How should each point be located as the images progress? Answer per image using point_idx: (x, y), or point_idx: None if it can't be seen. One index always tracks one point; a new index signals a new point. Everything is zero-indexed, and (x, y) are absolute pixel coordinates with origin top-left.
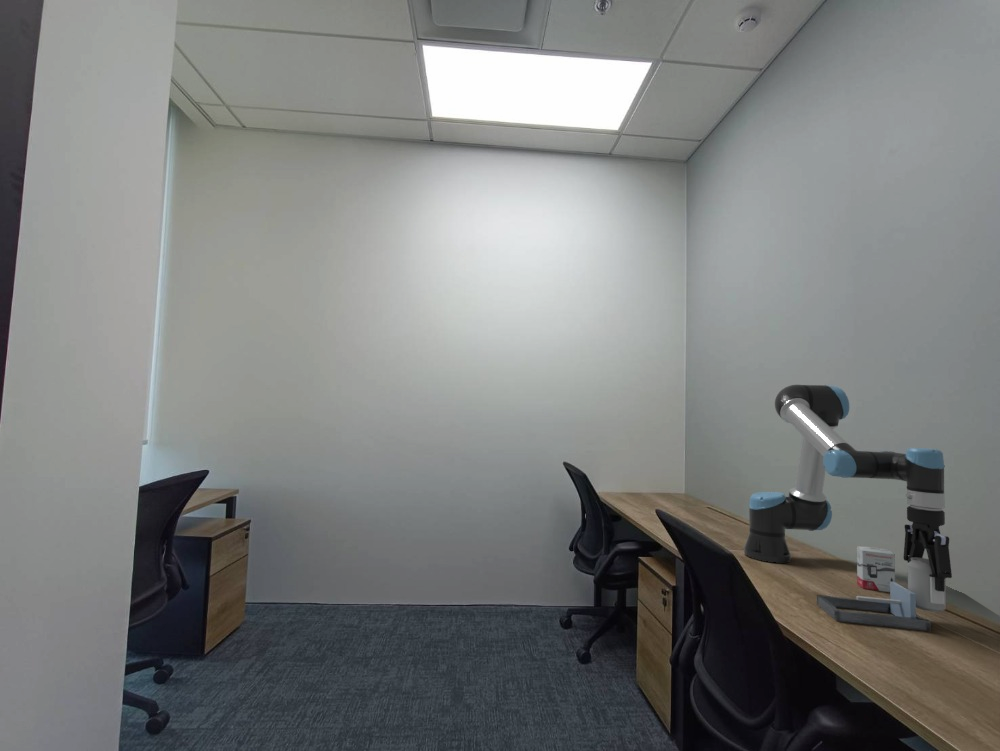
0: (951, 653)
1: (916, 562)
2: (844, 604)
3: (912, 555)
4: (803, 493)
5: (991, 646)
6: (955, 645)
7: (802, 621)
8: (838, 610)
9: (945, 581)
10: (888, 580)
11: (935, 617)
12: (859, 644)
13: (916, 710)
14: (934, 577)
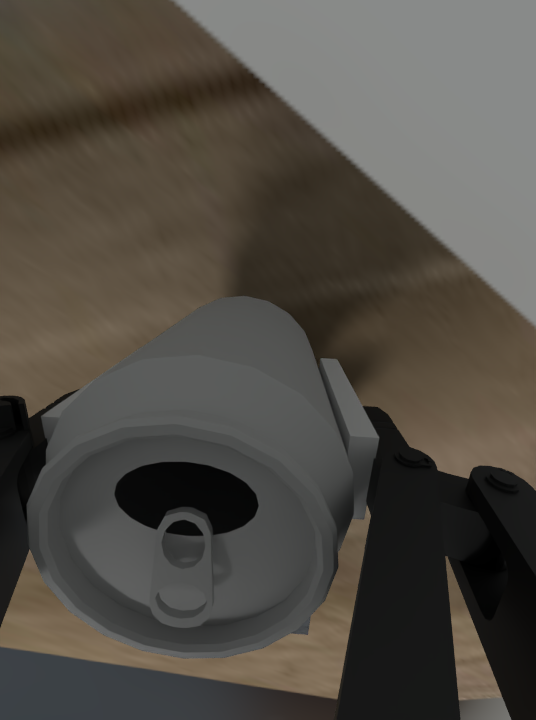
0: (503, 435)
1: (233, 637)
2: None
3: (5, 603)
4: None
5: (445, 245)
6: (444, 380)
7: (324, 668)
8: (301, 627)
9: (296, 357)
10: None
11: (174, 263)
12: (451, 620)
13: None
14: (366, 500)
